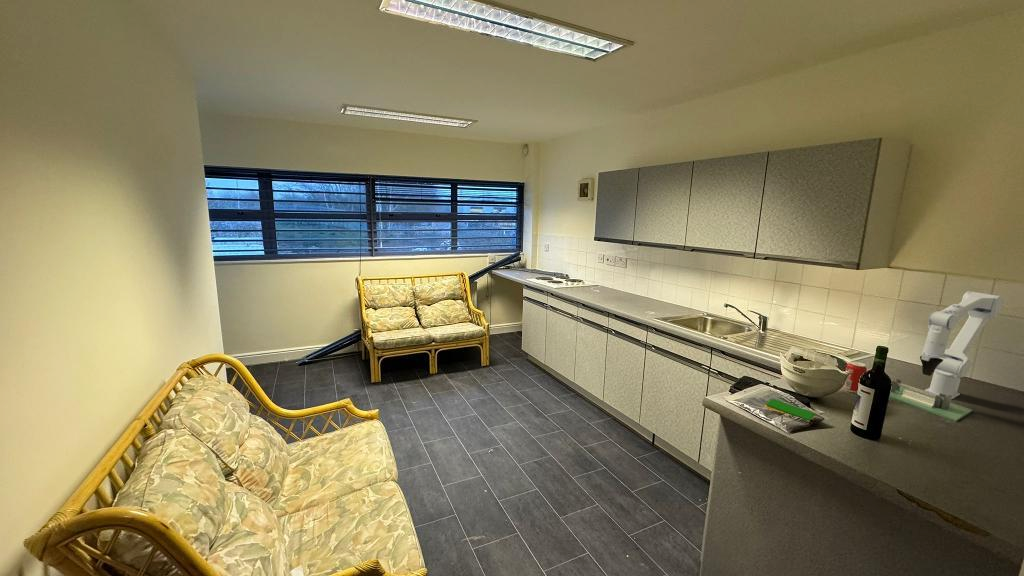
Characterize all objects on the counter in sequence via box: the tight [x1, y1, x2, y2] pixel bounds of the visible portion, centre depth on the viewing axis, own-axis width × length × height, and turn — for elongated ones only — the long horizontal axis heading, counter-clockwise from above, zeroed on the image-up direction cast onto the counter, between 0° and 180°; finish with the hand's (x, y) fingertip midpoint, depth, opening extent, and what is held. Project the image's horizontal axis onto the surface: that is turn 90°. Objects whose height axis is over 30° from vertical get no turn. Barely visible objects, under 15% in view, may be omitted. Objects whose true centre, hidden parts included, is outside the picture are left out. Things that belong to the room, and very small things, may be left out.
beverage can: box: [842, 360, 868, 394], centre depth 164 cm, size 6×6×12 cm
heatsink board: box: [889, 378, 973, 422], centre depth 157 cm, size 16×24×6 cm, turn 28°
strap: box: [897, 382, 944, 400], centre depth 157 cm, size 3×14×1 cm, turn 28°
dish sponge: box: [764, 398, 816, 421], centre depth 146 cm, size 7×14×2 cm, turn 40°
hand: (926, 374), depth 158 cm, fingers closed
